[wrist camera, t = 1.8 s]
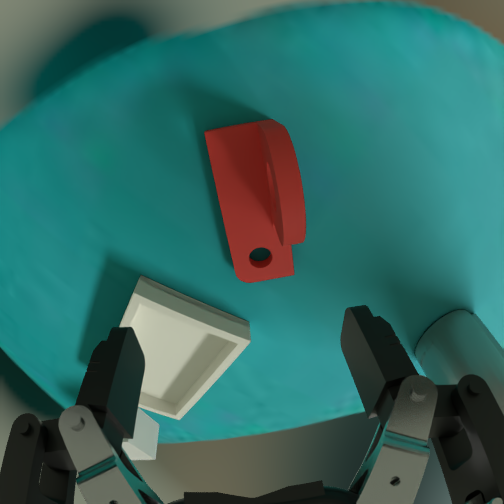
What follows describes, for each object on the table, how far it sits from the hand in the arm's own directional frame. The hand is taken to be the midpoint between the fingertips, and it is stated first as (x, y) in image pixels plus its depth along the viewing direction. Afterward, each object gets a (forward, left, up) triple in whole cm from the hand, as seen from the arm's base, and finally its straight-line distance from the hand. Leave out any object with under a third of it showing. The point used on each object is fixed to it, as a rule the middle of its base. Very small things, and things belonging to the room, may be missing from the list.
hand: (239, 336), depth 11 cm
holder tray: (+8, +15, -13) cm, 21 cm away
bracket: (-1, 0, -13) cm, 13 cm away
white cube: (+17, +29, -13) cm, 36 cm away
